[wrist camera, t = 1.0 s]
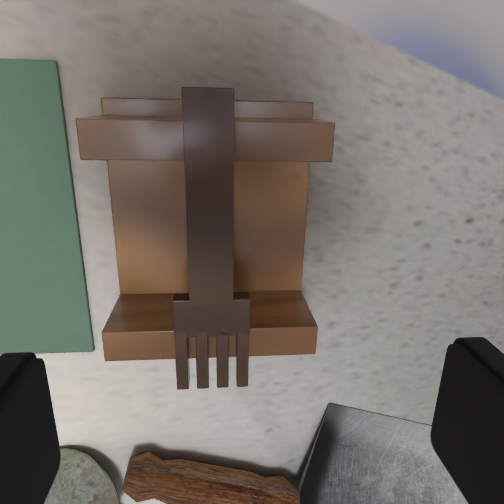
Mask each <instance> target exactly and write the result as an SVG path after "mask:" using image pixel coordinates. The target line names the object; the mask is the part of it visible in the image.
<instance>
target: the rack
mask: <svg viewBox="0 0 504 504" xmlns="http://www.w3.org/2000/svg"><path fill="white" fill-rule="evenodd" d="M101 105H102V115H101V116H93V117H84V118H76V126H77V134H78V143H79V151H80V159H81V160H107V165H108V175H109V185H110V195H111V205H112V215H113V225H114V236H115V246H116V256H117V266H118V276H119V286H120V296H119V298H118V300H117V302H116V304H115V306H114V308H113V311H112V313H111V315H110V317H109V319H108V321H107V323H106V325H105V327H104V329H103V331H102V340H103V349H104V357H105V361H123V360H152V359H176V356H175V337H174V333H173V314H172V298H173V294H174V293H189V283H188V255H187V228H186V200H185V173H184V145H183V118H182V99H138V98H101ZM312 118H313V102H279V101H234V284H233V292H249V294H250V299H251V303H250V335H249V356H269V355H299V354H315V353H316V342H317V330H318V326H317V324H316V322H315V320H314V318H313V316H312V313H311V311H310V309H309V307H308V305H307V303H306V300H305V298H304V296H303V294H302V292H301V283H302V268H303V253H304V238H305V223H306V208H307V193H308V178H309V163H310V162H332V154H333V142H334V130H335V123H333V122H327V121H321V120H315V119H312ZM188 348H189V358H196V337H188ZM208 357H209V358H211V357H217V343H216V336H211V337H208ZM228 357H236V336H228Z"/></svg>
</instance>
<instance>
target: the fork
mask: <svg viewBox="0 0 504 504" xmlns="http://www.w3.org/2000/svg"><path fill="white" fill-rule="evenodd" d="M181 90H182V118H183V145H184V173H185V200H186V228H187V255H188V283H189V293H174V294H173V298H172V314H173V333H174V337H175V356H176V375H177V389H189V381H190V374H189V348H188V337H196V366H197V388H198V389H199V388H208V387H209V357H208V337H211V336H216V343H217V387H218V388H222V387H228V336H236V384H237V387H245V386H248V360H249V335H250V303H251V299H250V294H249V292H233V284H234V88H206V87H182V88H181Z"/></svg>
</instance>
